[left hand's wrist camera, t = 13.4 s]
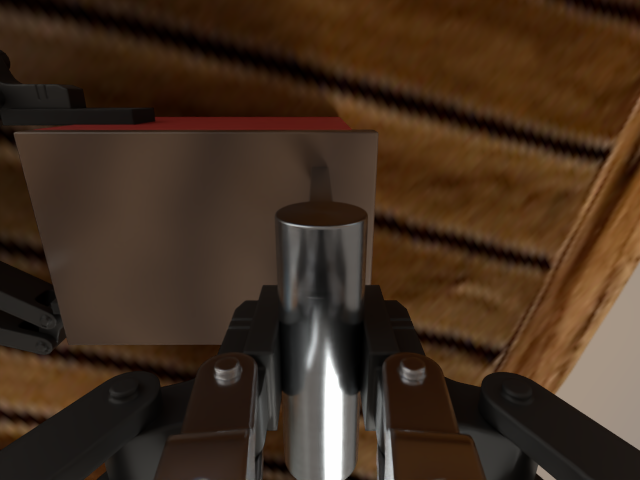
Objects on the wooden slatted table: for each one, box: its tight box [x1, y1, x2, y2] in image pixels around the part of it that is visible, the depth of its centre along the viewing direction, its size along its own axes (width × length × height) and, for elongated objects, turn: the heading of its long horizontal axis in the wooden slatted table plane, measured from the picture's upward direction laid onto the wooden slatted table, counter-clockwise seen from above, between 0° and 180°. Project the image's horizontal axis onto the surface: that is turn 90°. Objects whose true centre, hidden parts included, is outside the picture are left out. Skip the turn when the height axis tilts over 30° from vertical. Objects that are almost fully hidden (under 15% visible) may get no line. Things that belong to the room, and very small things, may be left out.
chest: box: [34, 117, 352, 130], centre depth 23 cm, size 14×10×11 cm
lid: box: [14, 130, 378, 480], centre depth 14 cm, size 15×10×10 cm
